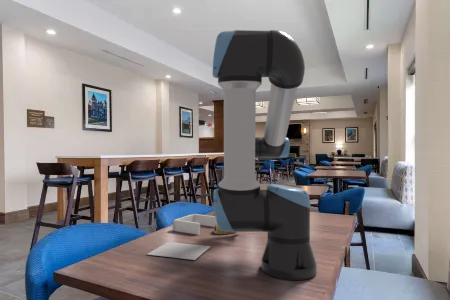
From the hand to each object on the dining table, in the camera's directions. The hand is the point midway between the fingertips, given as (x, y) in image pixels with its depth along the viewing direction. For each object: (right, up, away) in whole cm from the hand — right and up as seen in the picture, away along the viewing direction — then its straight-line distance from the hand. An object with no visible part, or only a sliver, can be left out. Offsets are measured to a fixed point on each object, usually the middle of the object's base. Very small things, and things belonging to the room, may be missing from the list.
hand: (237, 230), depth 117 cm
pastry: (-6, -2, +4) cm, 7 cm away
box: (-18, -2, +10) cm, 20 cm away
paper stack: (-15, -2, -17) cm, 22 cm away
